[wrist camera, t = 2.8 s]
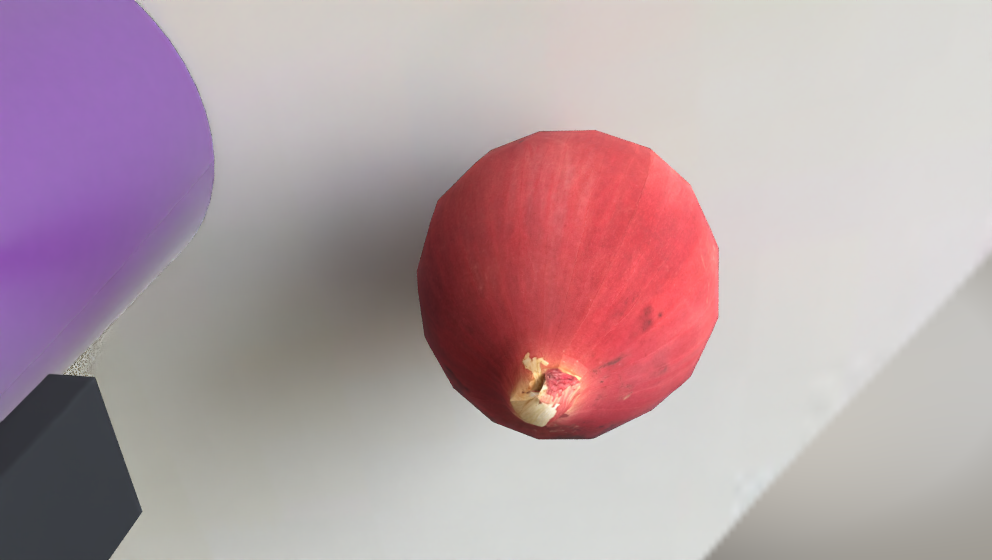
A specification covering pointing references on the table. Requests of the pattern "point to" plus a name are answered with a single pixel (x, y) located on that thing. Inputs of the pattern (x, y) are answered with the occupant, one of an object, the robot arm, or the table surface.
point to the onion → (568, 283)
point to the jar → (89, 175)
